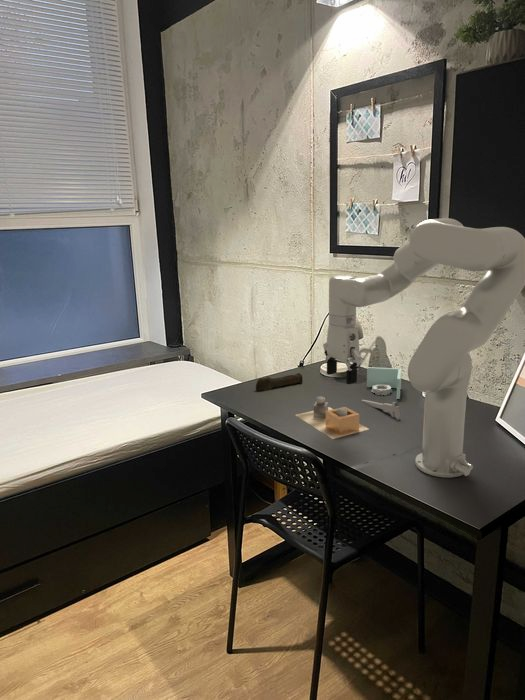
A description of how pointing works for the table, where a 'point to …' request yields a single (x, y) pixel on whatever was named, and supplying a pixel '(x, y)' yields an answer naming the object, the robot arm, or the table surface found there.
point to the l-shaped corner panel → (384, 380)
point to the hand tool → (278, 381)
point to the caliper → (386, 408)
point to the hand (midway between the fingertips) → (341, 378)
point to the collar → (342, 421)
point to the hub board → (319, 418)
